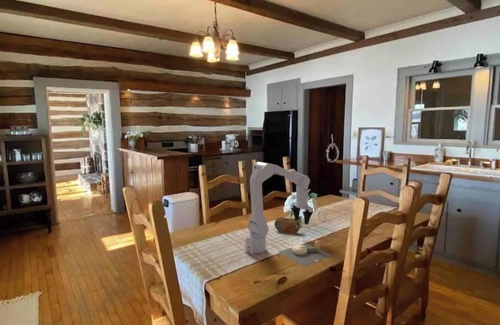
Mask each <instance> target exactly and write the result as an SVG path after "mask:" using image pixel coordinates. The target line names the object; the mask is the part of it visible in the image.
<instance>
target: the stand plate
mask: <svg viewBox="0 0 500 325" xmlns="http://www.w3.org/2000/svg"><path fill="white" fill-rule="evenodd" d="M301 245H303V246H306V247H314V246H312V245H310V244H308V243H302V244H301ZM278 254H280V255H282V256H284V257H286V258H288V259H289V260H292V261H294V262H295V263H297V264H298V265H301V266H303V267H305V266H308V265H312V264H314V263H317V262H320V261H323V260H325V259H328V258H331V257H333V255H332V254H330V253H328V252H326V251H324V250H321V249H320V251H315V252H307V254H305V255H296V254H293V253H292V247H288V248H286V249H282V250H279V251H278Z"/></svg>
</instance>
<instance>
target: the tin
mask: <svg viewBox="0 0 500 325" xmlns="http://www.w3.org/2000/svg"><path fill="white" fill-rule="evenodd" d="M274 227H275V229H276V230H277V231H278V232H280V233H288V234H296V233H298V232H299V231H300V229H301V223H300V220H297V221H295V218H294V217H285V216H280V217H277V218H276V219H275V220H274Z"/></svg>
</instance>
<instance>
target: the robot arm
mask: <svg viewBox="0 0 500 325" xmlns="http://www.w3.org/2000/svg"><path fill="white" fill-rule="evenodd" d="M251 167H252V168H251V170H252V172H251V175H250V177H249V188H250V203H251V204H250V205H251V206H250V209H251V216H250V217H249V218H248V224H247V229H248V231H250V232H249V233H250V235H249V236H248V237H246V238H245V250H244V252H245V254H248V253H249V254H251V255H255V254H260V253H264V252H266V249H267V244H266V243H267V239H266V238H267V235H268V234H269V226H268V224H267V220H266V218H265V216H264V204H263V203H264V202H263V185H262V184H263V183H264V182H265V181H267V180H268V179H269V178H271V177H273V175H276V174H277V175H280V176H283V177H284V178H285V180H287V181H289V182H291V183H294V184H295V185H296V186H295V187H296V190H295V191H296V192H295V193H296V195H295V196H296V200H295V201H296V202H291V207H290V209H291V212H292V214H293V218H295V221H297V220H298V221H300V213H301V210H303V211H302V214H303V219H304V220H303V221H304V225H309V224H310V220H311V217H312V215H313V214H314V207H311V206H309V204H308V189H309V185H310V182H311V179H310V177H309V176H308V175H307V174H302V173H303V172H300V171H299V172H298V171H296V169H294V168H291V169H290V168H289V169H285V168H283V167H281V166H280V165H277V164H274V163H273V164H272V163H268V162H263V161H257V162H256V163H255V164H254V165H253V166H251Z"/></svg>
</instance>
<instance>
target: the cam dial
mask: <svg viewBox="0 0 500 325" xmlns="http://www.w3.org/2000/svg"><path fill="white" fill-rule="evenodd" d="M291 248H292V253H293V254H296V255H305V254H307V252H315V251H320V250H321V241H319V240H314V246H313V247H306V246H303V245H302V244H296V245H293V246H292V247H291Z"/></svg>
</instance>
